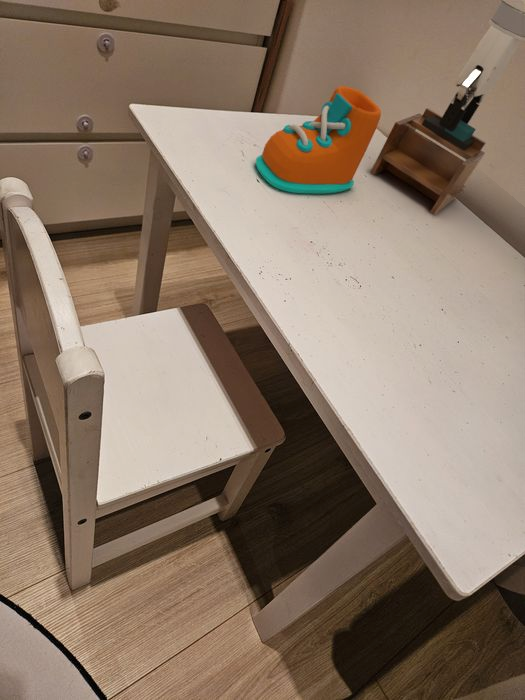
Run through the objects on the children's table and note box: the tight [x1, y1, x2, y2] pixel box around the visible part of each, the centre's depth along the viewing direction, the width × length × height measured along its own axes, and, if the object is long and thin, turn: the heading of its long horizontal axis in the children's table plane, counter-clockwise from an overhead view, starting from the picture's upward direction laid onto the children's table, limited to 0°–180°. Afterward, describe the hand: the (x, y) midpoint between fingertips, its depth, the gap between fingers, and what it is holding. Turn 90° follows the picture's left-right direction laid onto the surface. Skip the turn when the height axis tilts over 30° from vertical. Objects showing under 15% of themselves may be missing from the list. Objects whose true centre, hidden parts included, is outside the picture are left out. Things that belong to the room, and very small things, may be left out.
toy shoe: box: [255, 85, 382, 195], centre depth 82 cm, size 12×20×15 cm, turn 117°
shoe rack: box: [369, 107, 487, 216], centre depth 94 cm, size 16×12×13 cm
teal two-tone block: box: [422, 116, 476, 150], centre depth 91 cm, size 10×4×3 cm, turn 51°
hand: (453, 123), depth 91 cm, fingers open, 7 cm apart
